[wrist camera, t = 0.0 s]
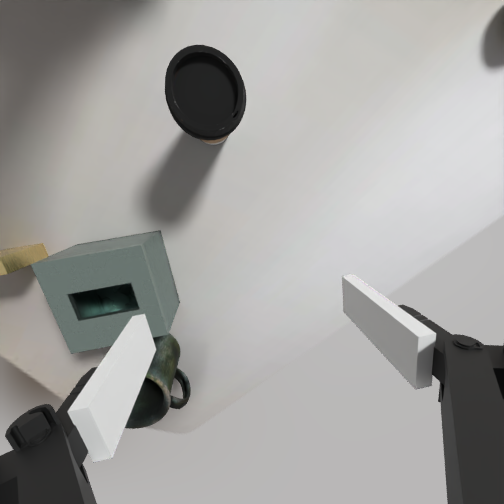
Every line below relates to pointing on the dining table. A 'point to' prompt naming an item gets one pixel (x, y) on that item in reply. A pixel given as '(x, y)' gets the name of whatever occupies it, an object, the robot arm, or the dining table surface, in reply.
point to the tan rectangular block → (20, 257)
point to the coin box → (109, 289)
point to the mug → (159, 385)
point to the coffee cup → (205, 93)
